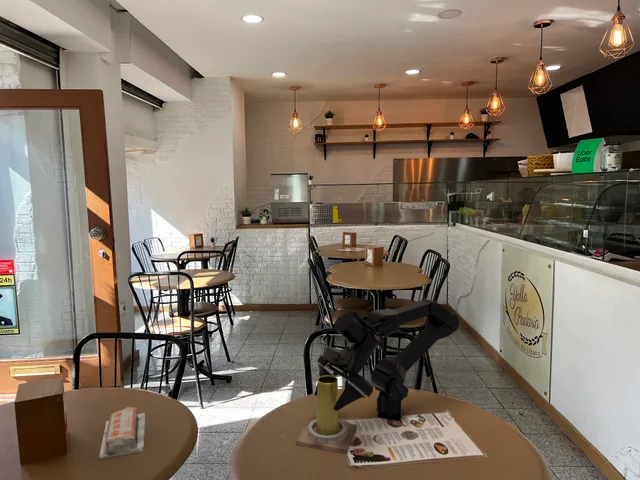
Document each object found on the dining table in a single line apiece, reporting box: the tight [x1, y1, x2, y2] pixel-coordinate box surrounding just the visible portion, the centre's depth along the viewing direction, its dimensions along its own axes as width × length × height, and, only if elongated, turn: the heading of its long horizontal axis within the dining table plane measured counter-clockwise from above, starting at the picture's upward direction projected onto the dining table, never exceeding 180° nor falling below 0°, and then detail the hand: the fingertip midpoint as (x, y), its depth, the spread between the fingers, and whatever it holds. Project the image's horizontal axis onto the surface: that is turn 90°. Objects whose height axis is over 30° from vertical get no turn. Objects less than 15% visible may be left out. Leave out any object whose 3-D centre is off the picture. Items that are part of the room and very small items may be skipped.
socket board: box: [295, 417, 358, 454], centre depth 113 cm, size 13×12×2 cm
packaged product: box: [98, 406, 146, 461], centre depth 113 cm, size 18×5×10 cm
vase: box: [316, 375, 340, 436], centre depth 113 cm, size 6×6×14 cm
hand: (324, 402), depth 112 cm, fingers open, 9 cm apart
